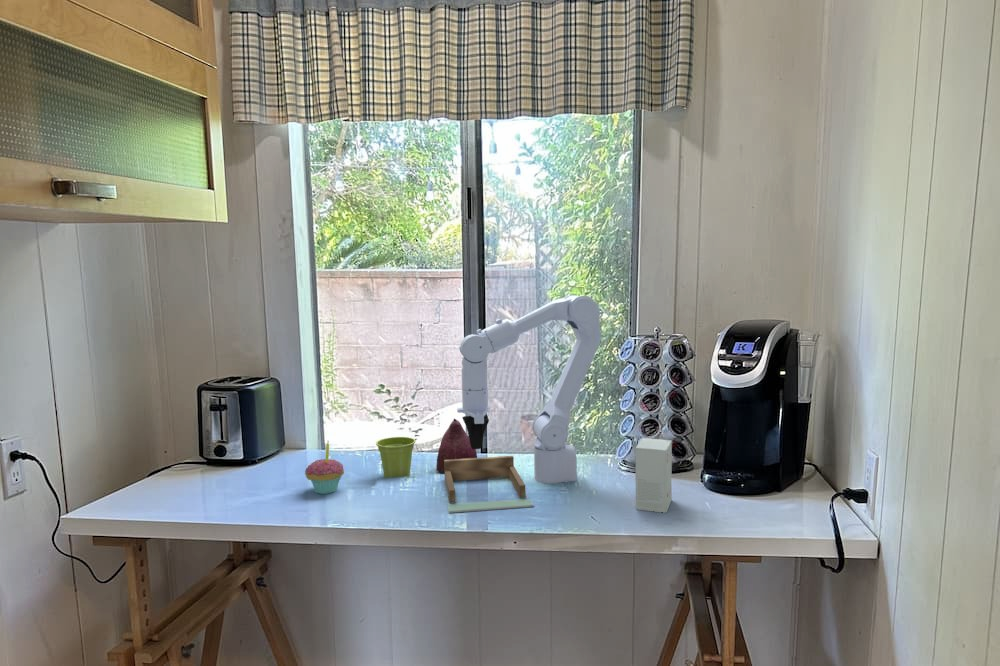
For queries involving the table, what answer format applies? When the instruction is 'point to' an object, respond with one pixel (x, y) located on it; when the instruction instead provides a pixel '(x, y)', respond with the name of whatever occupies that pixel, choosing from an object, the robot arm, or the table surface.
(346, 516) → the table surface
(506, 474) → the cart bed
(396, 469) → the plant pot
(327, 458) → the cupcake
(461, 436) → the vegetable
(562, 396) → the robot arm
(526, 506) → the green board
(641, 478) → the small box
